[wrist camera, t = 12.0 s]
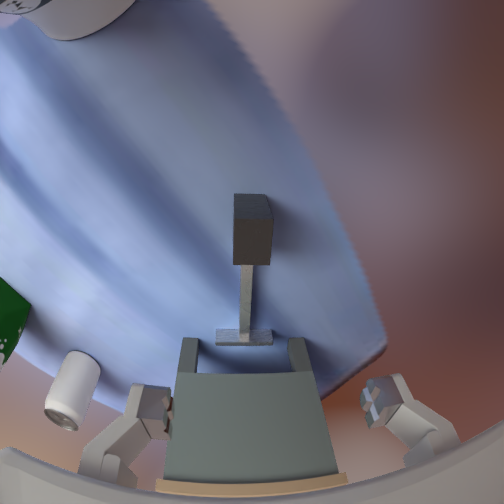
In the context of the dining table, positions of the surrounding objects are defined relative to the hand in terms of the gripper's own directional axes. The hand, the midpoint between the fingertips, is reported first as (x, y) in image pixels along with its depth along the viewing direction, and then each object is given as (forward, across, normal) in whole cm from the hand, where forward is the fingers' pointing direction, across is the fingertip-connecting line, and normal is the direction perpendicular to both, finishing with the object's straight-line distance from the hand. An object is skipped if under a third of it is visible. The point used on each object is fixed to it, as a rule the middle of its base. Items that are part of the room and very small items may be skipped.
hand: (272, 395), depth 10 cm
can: (+21, +26, +25) cm, 42 cm away
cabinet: (+21, 0, +22) cm, 30 cm away
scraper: (+21, 0, +7) cm, 22 cm away
